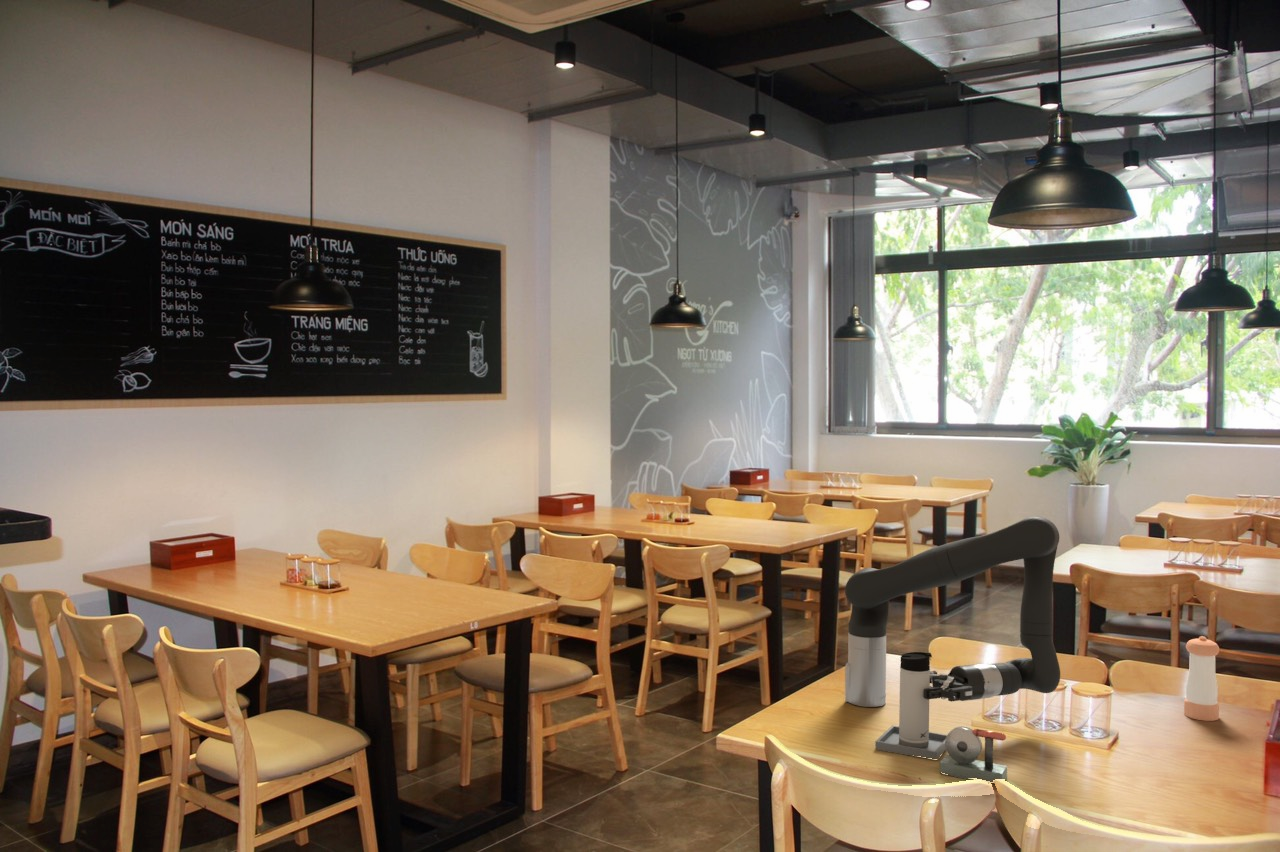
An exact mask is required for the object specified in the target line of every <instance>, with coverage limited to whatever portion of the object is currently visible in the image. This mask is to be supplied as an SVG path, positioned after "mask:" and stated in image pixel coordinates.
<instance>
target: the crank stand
mask: <svg viewBox="0 0 1280 852" xmlns="http://www.w3.org/2000/svg"><path fill="white" fill-rule="evenodd" d="M946 735H947V736H946V739H945V748H946V751H945V752H946V753H947V754H946V755H945V756H943V758H942V759H941V760H940V761H939V773H940V772H942V773H945V774H948V775H952V776H951V777H953V776H954V778H958V779H959V778H960V779H965V780H968V778H977V779H982V780H986V781H990V782H993V780H995V779H1006V780H1007V778H1008V765H1005V764H998V763H994V740H996V741H1006V739H1007V736H1006V734H1005V733H1003V732H998V731H990V730H985V729H979V728H974V729H971V728H969V727H967V726H957V727H954V728H952V729H951V730H950V731H949V732H948V734H946ZM981 738H984V760H983V761H982V760H977V759H978V758H979V757H980V755H981V754H982V751H983V742H982V739H981ZM948 775H947V776H948Z"/></svg>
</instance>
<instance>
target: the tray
mask: <svg viewBox="0 0 1280 852" xmlns="http://www.w3.org/2000/svg"><path fill="white" fill-rule="evenodd" d="M947 735H948V734H943V733H938V732H932V731H929V737H928V738H929V745H928V746H927V747H924V748H915V747H909V746H904V745H902V744H900V743H899V725H893V724H892V725H891V726H890V727H889V728H888V729H887V730H886V731H884V733H883V734H882V735H880V736H879V737H878V738H877V739H875V743H874V744H875V747H874V748H875V749H874V750H876V749H877V750H876V751H881V750H883V751H882V752H886V751H889V752H888V753H891V752H894V753H893V754H897V753H900V754H899V755H902V754H905V755H904V756H907V755H914V756H921V757H926V758H932V759H938V758H939V757H940V755H941V754H942V753H943V752H944V751H945V750H946V748H945V739H946V736H947ZM945 752H946V751H945ZM945 752H944V753H945ZM944 753H943V754H944ZM906 754H907V755H906ZM943 754H942V755H943ZM940 758H941V757H940ZM940 758H939V759H940ZM939 759H938V760H939Z"/></svg>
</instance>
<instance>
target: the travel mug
mask: <svg viewBox="0 0 1280 852" xmlns="http://www.w3.org/2000/svg"><path fill="white" fill-rule="evenodd" d="M932 657H933V655H932V653H931V652H925V651H911V652H905V653H902V655H901V656H900V666H899V669H900V670H899V713H898V714H899V718H898V722H899V724H898V726H899V743H900V744H902V745H904V746H909V747H915V748H924V747H927V746H928V745H929V738H928V737H929V732H930V699H925V698H924V689H925V688H930V686H931V683H930V671H931V666H930V663H931V661H930V659H932Z"/></svg>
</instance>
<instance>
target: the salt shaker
mask: <svg viewBox="0 0 1280 852" xmlns="http://www.w3.org/2000/svg"><path fill="white" fill-rule="evenodd" d="M1185 649H1186V650H1187V652H1188V653H1189V657H1188V658H1189V659H1188V661H1189V662H1188V663H1189V666H1188V668H1189V669H1188V673H1187V674H1188V675H1187V677H1186V678H1187V679H1186V685H1185V693H1186V695H1185V698H1184V700H1183V704H1184V705H1183V707H1184V709H1183V714H1184V716H1186V717H1187V718H1189V719H1194V720H1199V721H1207V722H1211V721H1212V722H1214V721H1218V720H1219V719H1220V704H1219V702H1218V692H1219V691H1218V690H1219V688H1218V687H1219V686H1218V681H1217V676H1216V674H1217V673H1216V656H1218V655H1219V653H1220V646H1219V645H1218V643H1216V642H1215V641H1213V640H1211V639H1207V637H1206V636H1203V635H1201V636H1199V637H1198V638H1192V639H1190V640H1188V641H1187V642H1186V645H1185Z"/></svg>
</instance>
